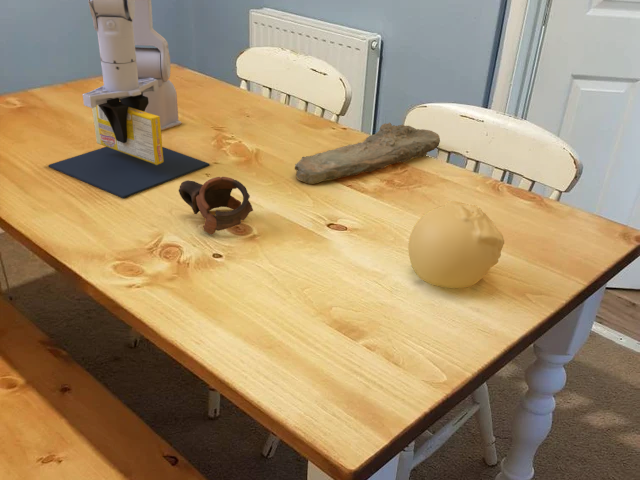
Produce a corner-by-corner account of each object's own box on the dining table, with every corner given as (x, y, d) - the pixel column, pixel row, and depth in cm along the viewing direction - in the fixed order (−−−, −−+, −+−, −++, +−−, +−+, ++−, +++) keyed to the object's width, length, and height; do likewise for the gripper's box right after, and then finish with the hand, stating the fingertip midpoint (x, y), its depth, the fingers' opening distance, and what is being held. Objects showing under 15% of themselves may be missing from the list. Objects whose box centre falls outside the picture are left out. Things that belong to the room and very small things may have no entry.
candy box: (165, 162, 120) (160, 115, 115) (156, 166, 118) (150, 118, 114) (105, 140, 128) (97, 95, 123) (95, 143, 126) (88, 98, 121)
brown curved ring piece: (258, 213, 112) (263, 182, 104) (236, 259, 107) (240, 230, 100) (188, 186, 112) (188, 154, 104) (164, 231, 107) (162, 200, 100)
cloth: (136, 139, 136) (136, 137, 136) (209, 165, 126) (209, 163, 126) (48, 167, 122) (48, 164, 122) (123, 198, 113) (123, 196, 113)
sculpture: (506, 293, 94) (522, 221, 88) (425, 303, 90) (436, 229, 84) (467, 253, 103) (480, 185, 97) (393, 261, 100) (401, 191, 93)
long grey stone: (281, 179, 126) (315, 200, 120) (281, 152, 123) (316, 173, 117) (415, 135, 144) (450, 151, 138) (418, 110, 141) (454, 126, 135)
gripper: (98, 71, 107) (109, 155, 115) (168, 56, 117) (173, 134, 125) (70, 63, 111) (82, 145, 118) (139, 49, 120) (147, 125, 128)
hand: (127, 139), depth 122 cm, fingers closed on candy box, 2 cm apart
